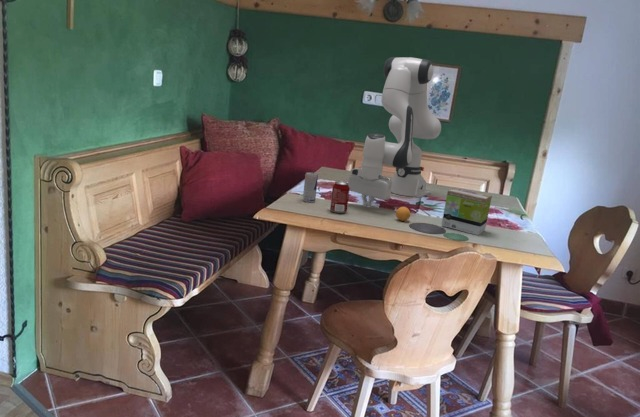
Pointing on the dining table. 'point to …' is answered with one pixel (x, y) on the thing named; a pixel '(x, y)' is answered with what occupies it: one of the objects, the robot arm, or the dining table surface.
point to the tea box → (466, 211)
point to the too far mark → (456, 236)
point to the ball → (403, 213)
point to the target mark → (427, 228)
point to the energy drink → (310, 187)
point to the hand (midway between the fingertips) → (366, 205)
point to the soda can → (339, 197)
